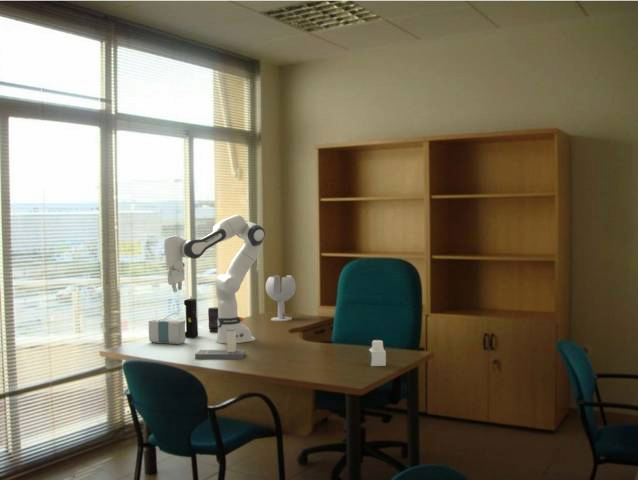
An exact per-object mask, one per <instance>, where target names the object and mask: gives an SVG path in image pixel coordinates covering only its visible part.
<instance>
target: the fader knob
mask: <svg viewBox="0 0 638 480" xmlns="http://www.w3.org/2000/svg"><path fill="white" fill-rule="evenodd" d="M226 344H227V345H226V346H227V349H226V350H227V352H235V351H236V350H237V343H236V328H228V329H227V343H226Z"/></svg>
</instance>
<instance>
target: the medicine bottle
mask: <svg viewBox="0 0 638 480" xmlns="http://www.w3.org/2000/svg"><path fill="white" fill-rule="evenodd" d="M368 363H369V364H370V366H371V367H386V366H387V352H386V350H385V349H384V340H382V339H376V338H375V339H372V340H370V348H369V349H368Z"/></svg>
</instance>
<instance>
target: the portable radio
mask: <svg viewBox="0 0 638 480" xmlns="http://www.w3.org/2000/svg"><path fill="white" fill-rule="evenodd" d="M183 304H184V305H185V339H186V338H188V339H189V338H190V339H191V338H192V339H193V338H196V337H197V336H199V330H198V318H197V299H196V298H192V297H190V298H187V299H184V300H183Z"/></svg>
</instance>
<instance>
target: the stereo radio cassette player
mask: <svg viewBox="0 0 638 480" xmlns="http://www.w3.org/2000/svg"><path fill="white" fill-rule="evenodd" d="M180 311H181V309H179V310H177V311H175V312H173V313H172V314H169V315H168V316H166V317H164V318H155V319H150V320H148V340H149V342H151V343H152V342H153V344H154V343H158V344H170V345H171V344H172V345H180V344H185V342H186V337H185V332H186V319H183V320H182V319H167V318H169V317H171V316H173V315H175V314H176V313H178V312H180Z"/></svg>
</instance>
